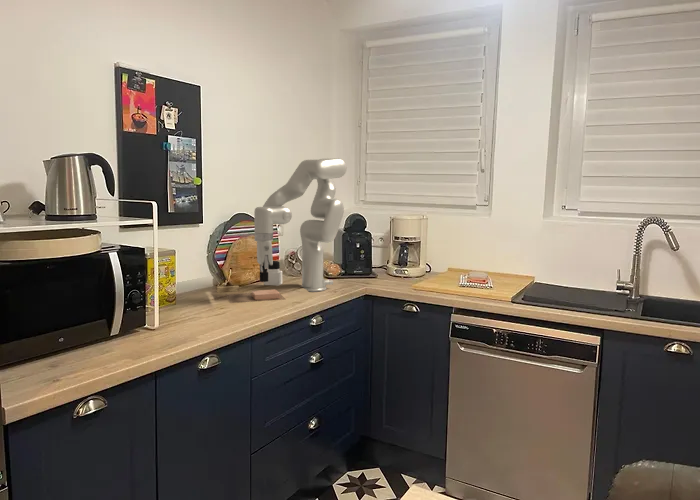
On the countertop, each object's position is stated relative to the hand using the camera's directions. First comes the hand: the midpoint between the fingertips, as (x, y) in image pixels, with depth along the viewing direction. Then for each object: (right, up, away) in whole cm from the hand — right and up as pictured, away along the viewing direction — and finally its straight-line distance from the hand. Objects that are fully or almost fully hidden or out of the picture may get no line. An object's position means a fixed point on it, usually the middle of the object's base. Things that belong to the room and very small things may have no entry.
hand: (264, 281), depth 215 cm
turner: (-13, -6, +10) cm, 17 cm away
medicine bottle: (0, -4, +26) cm, 27 cm away
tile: (0, -5, +1) cm, 5 cm away
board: (-3, -8, -1) cm, 9 cm away
